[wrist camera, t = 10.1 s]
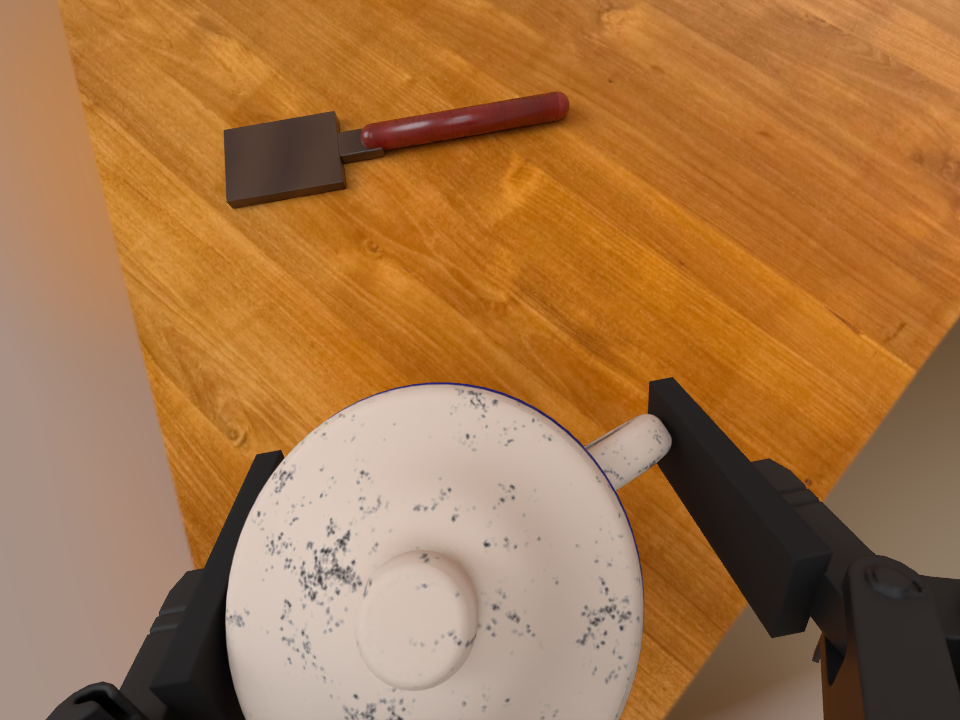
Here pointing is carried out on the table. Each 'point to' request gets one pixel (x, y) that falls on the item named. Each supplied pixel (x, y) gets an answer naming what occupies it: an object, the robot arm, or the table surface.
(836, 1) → the table surface
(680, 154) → the table surface
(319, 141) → the spatula
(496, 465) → the teacup with lid
